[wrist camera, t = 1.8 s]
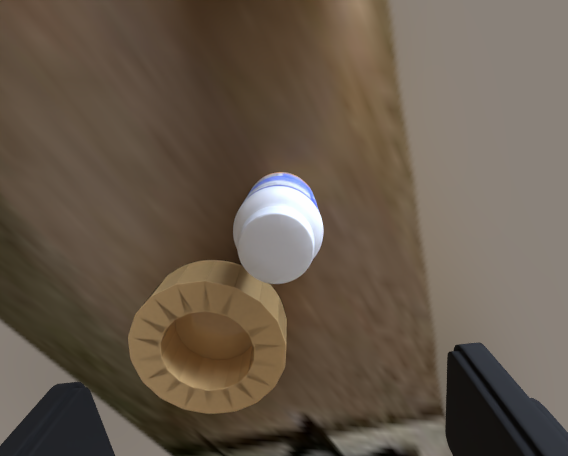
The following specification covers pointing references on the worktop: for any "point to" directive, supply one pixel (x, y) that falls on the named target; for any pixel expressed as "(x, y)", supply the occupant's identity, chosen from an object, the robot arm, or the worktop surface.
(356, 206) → the worktop surface
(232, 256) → the worktop surface
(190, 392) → the tape roll
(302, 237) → the pill bottle
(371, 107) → the worktop surface
